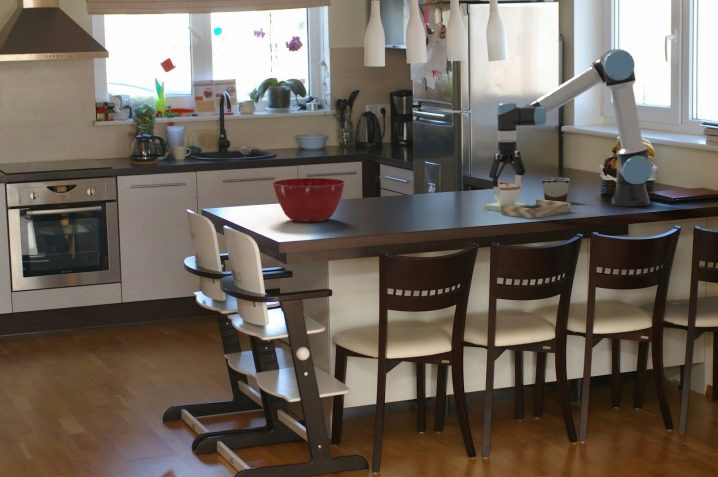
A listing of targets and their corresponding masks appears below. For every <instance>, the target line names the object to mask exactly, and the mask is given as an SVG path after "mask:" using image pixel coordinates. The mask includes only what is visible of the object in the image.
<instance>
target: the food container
mask: <svg viewBox="0 0 718 477" xmlns="http://www.w3.org/2000/svg"><path fill="white" fill-rule="evenodd" d="M540 184H542V190H543V198H544V199H543V200H549V201H558V202H566V203H568V196H569V187H570V184H571V179H570V178H569V177H560V176H559V177H557V176H556V177H555V176H554V177H543V178H542V180H541V183H540Z"/></svg>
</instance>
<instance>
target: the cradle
mask: <svg viewBox="0 0 718 477" xmlns="http://www.w3.org/2000/svg"><path fill="white" fill-rule="evenodd" d="M570 212H571V202H558V201H549V200H544V199H535V204H531V205H530V204H529V206H524V207H513V206H505V205H502V206H501V212H500V215H504V216H513V217H518V216H519V217H520V218H526V217H527V218H529V219H538V218H543V217H549V216H553V215H558V214H564V213H565V214H566V213H570ZM519 217H518V218H519Z"/></svg>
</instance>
